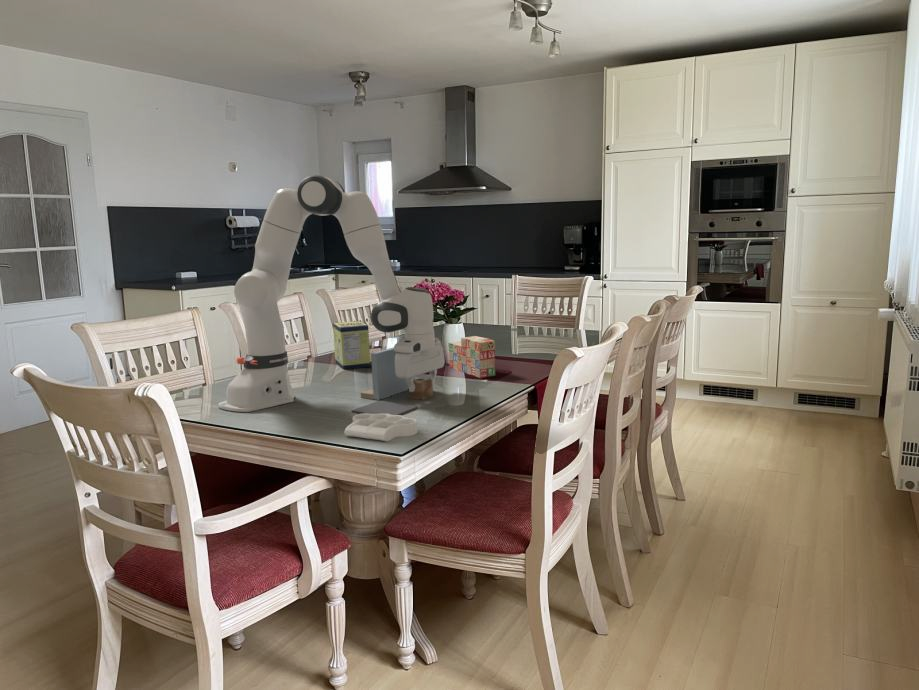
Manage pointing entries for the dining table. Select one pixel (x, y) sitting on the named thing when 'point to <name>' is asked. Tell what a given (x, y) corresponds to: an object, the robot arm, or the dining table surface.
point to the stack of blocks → (473, 356)
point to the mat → (385, 408)
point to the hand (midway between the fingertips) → (422, 387)
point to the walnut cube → (422, 389)
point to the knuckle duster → (381, 426)
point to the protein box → (351, 344)
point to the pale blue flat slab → (384, 376)
